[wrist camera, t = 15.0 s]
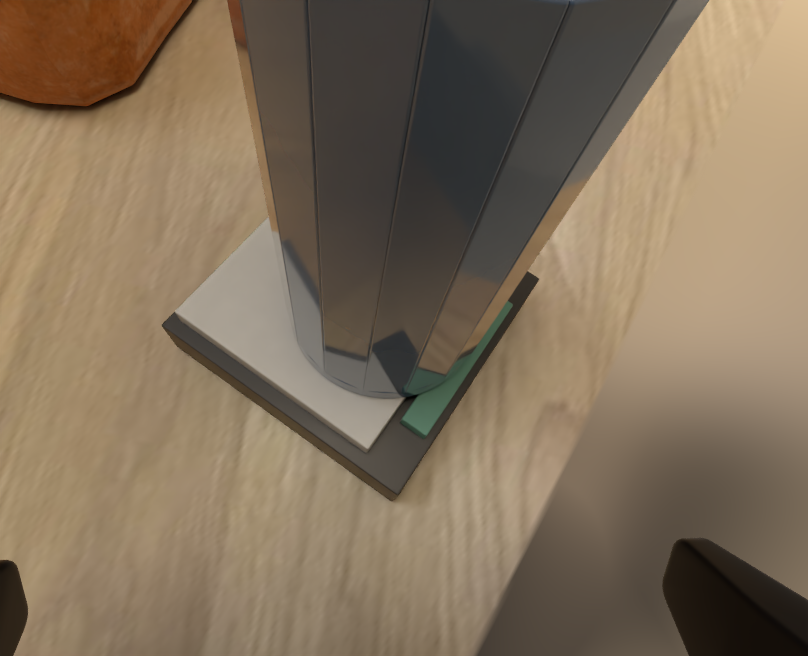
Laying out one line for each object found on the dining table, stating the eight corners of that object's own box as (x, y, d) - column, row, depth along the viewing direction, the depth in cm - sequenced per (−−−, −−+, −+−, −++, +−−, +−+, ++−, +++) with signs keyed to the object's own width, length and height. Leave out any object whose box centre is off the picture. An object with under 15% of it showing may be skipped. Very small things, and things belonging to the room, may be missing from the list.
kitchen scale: (523, 300, 23) (546, 268, 21) (391, 502, 19) (400, 493, 17) (334, 179, 24) (335, 135, 22) (176, 345, 21) (153, 315, 18)
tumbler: (481, 405, 18) (834, 38, 5) (278, 393, 17) (125, -59, 5) (476, 235, 21) (703, -283, 8) (300, 219, 20) (240, -373, 7)
